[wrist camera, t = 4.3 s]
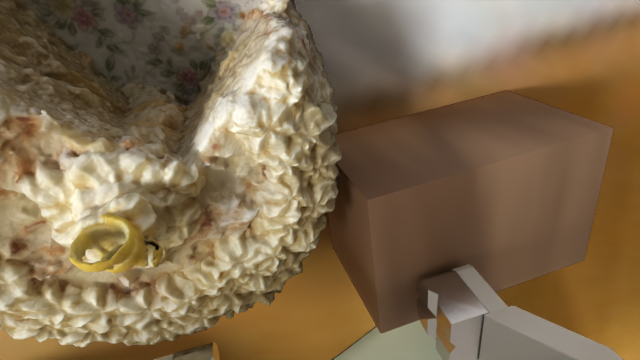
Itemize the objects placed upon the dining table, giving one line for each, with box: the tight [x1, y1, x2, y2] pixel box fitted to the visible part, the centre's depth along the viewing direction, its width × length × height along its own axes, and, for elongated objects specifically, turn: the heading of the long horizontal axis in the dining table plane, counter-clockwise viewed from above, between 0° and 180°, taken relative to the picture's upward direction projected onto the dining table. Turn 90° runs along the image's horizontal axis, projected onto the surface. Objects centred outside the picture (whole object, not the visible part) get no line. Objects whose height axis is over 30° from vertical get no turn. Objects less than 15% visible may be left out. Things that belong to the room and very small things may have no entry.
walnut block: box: [328, 90, 614, 334], centre depth 13 cm, size 4×4×7 cm
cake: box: [0, 0, 342, 347], centre depth 8 cm, size 10×10×5 cm
